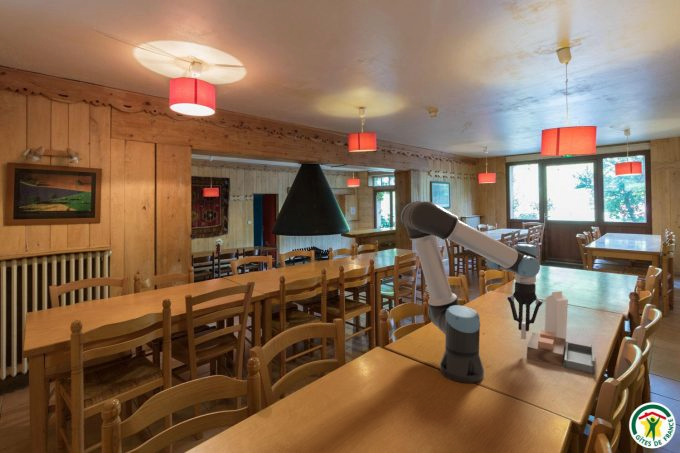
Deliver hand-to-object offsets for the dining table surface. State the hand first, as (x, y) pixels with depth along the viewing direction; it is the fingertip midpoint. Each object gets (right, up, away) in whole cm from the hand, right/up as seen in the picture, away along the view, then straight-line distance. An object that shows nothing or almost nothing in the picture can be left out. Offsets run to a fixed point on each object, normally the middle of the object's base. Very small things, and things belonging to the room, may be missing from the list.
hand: (523, 338), depth 139 cm
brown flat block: (+9, -6, -1) cm, 11 cm away
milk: (+22, -5, +14) cm, 26 cm away
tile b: (+12, -1, +3) cm, 12 cm away
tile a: (+6, -2, -5) cm, 8 cm away
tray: (+18, -7, -7) cm, 20 cm away
